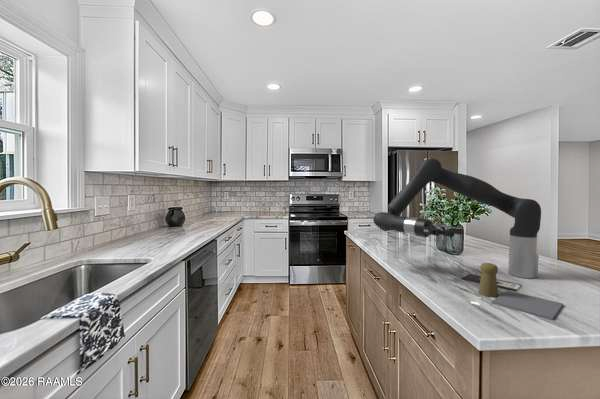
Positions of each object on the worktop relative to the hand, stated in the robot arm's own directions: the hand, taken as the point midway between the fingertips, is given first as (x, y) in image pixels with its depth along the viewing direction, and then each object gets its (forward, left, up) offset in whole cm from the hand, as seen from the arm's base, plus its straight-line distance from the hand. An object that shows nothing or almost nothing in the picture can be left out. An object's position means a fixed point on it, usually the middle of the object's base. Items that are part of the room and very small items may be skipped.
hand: (458, 233), depth 107 cm
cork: (-6, +8, -21) cm, 23 cm away
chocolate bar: (-16, -4, -21) cm, 27 cm away
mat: (-13, +17, -21) cm, 30 cm away
